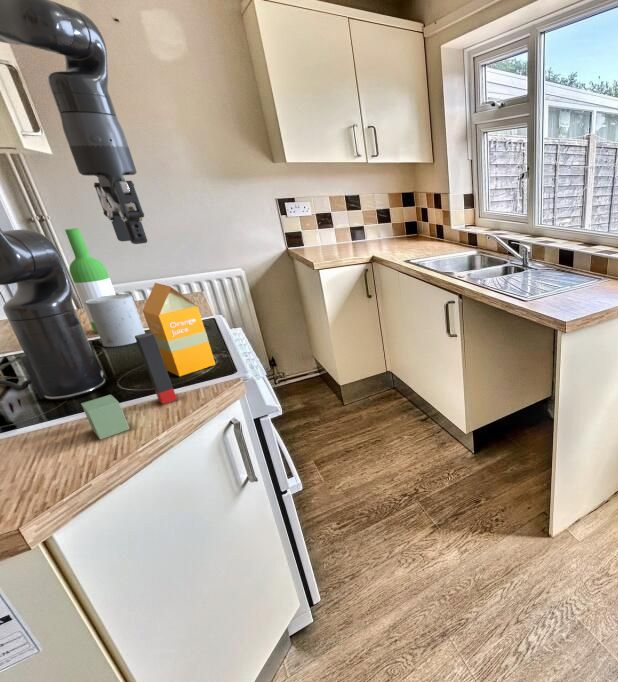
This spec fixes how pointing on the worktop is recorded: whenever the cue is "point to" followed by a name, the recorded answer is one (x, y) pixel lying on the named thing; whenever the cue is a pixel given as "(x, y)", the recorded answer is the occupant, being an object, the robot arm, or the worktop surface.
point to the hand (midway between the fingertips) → (132, 242)
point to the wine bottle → (87, 273)
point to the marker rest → (105, 416)
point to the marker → (156, 367)
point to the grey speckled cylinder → (115, 319)
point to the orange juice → (177, 331)
